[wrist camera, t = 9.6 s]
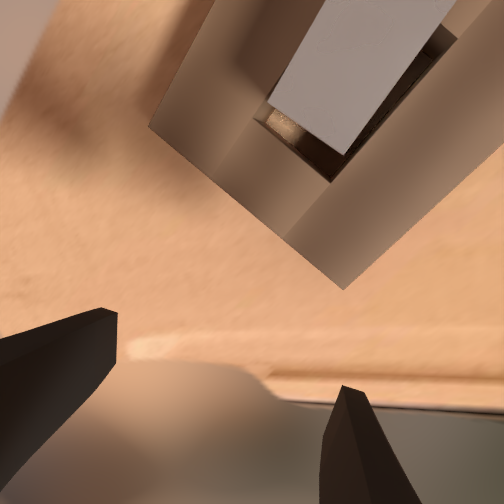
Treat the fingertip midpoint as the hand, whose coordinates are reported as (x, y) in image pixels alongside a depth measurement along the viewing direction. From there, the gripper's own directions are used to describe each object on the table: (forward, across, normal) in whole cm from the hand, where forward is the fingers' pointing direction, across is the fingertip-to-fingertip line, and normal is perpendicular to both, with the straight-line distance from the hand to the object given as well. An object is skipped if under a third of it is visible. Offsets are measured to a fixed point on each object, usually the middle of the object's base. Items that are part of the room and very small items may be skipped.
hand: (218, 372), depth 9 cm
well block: (+9, -1, -9) cm, 13 cm away
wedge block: (+10, -2, -10) cm, 14 cm away
